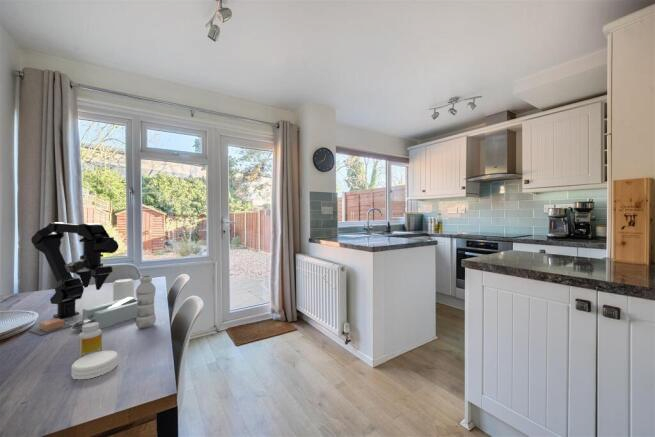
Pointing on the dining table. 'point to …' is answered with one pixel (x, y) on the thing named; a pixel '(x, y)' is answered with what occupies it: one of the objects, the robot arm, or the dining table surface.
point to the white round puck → (94, 364)
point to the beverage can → (123, 289)
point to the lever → (91, 318)
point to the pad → (43, 332)
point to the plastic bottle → (145, 303)
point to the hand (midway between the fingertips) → (91, 288)
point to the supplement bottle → (90, 339)
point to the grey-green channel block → (111, 313)
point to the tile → (51, 324)
